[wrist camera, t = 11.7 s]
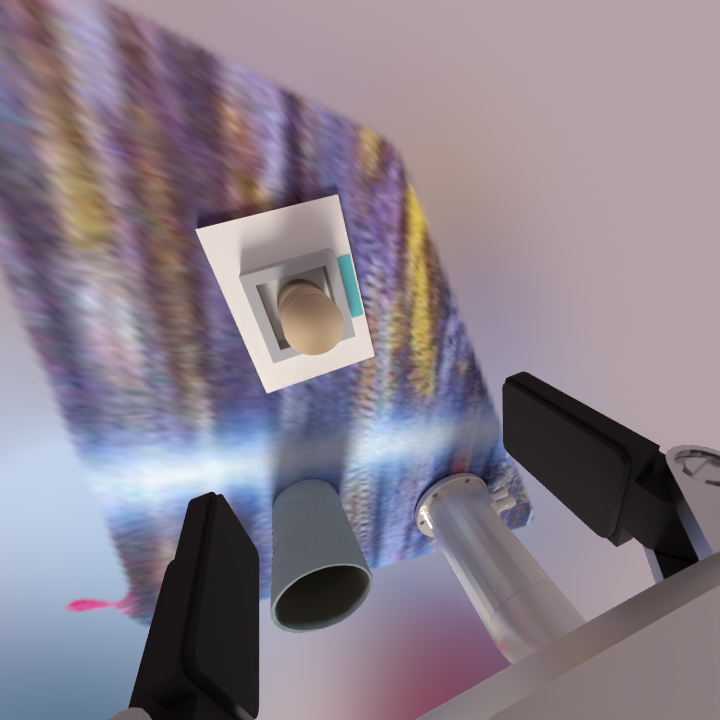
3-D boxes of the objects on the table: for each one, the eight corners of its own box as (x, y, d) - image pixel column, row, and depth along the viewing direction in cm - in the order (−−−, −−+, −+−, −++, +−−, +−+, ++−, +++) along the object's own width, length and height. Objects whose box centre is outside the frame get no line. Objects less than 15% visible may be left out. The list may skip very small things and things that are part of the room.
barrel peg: (316, 272, 28) (335, 288, 21) (329, 316, 30) (350, 343, 23) (269, 286, 28) (273, 307, 21) (286, 331, 30) (295, 363, 23)
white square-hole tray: (335, 195, 27) (345, 191, 24) (371, 352, 35) (382, 365, 32) (197, 229, 25) (189, 230, 22) (266, 388, 33) (267, 406, 30)
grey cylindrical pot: (253, 496, 38) (251, 602, 27) (329, 460, 39) (355, 547, 28) (287, 542, 42) (297, 647, 32) (354, 508, 44) (385, 599, 33)
